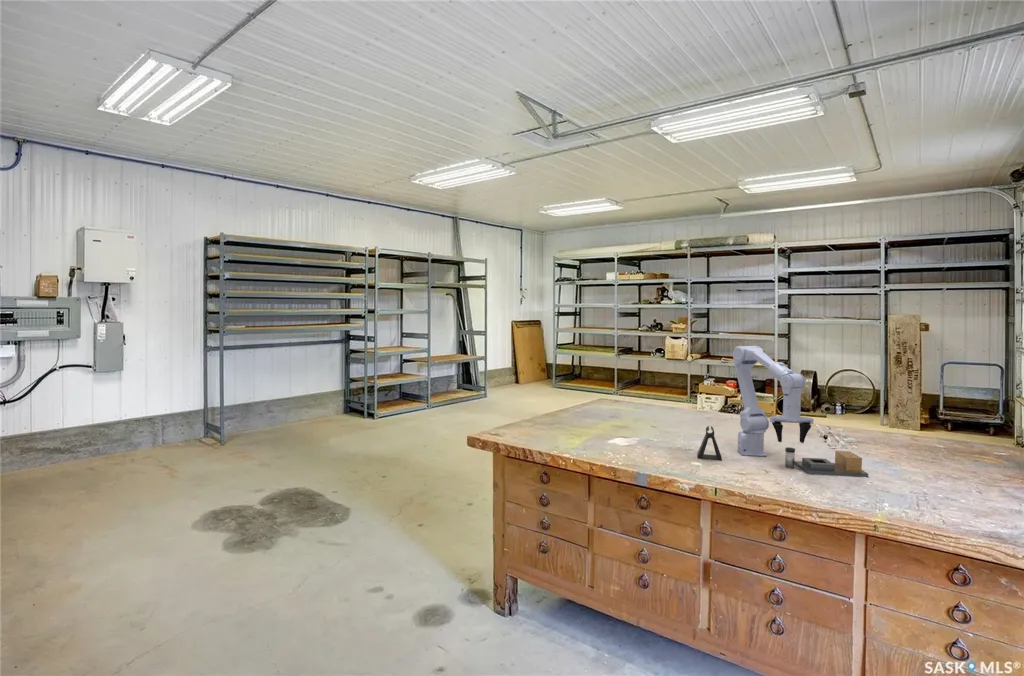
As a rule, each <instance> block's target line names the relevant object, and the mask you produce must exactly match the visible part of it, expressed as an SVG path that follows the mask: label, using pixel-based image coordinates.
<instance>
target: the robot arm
mask: <svg viewBox="0 0 1024 676" xmlns="http://www.w3.org/2000/svg"><path fill="white" fill-rule="evenodd" d="M732 358H733V363H734V367H735V373H736V378H737V381H738V387H739V391H740V396H741V399H742V403H743V404H742V405H743V410H742V411H741V413H740V414H739V416H740V417H739V418H740V419H739V420H740V421H739V422H740V423H739V424H740V428H741V429H742V431H738V434H737V450H736V451H738V453H739V454H740V455H741V456H751V457H752V456H754V457H755V456H756V457H757V456H758V457H767V456H768V454H766V453H765V452H764V449H765V447H764V445H765V443H764V442H765V433H766V431H767V430H768V428H769V427H770V423H772V427H773V429H774V430H775V434H776V438H777V442H778V443H782V441H783V428H784V425H783V424H782V423H787V424H789V423H790V424H793V423H794V424H798V425H799V442H800V443H801V444H804V443H805V439H806V436H807V435H808V433H809V431H810V430H811V429H812V425H813V424H814V418H813V417H806V416H801V409H802V408H801V407H802V406H801V403H802V401H801V399H802V389H803V388H804V387H805V385H806V379H805V377H804V375H803V374H802V373H801V372H794V370H792V369H789V368H788V367H787V366H786V365H785V363H784V362H782V361H778V362H777V361H774V360H773V359H772V358H771V357H770V356H769V355H768V354H767V353H765V352H764V349H763V348H761V347H760V346H759V345H737V346H736V347H735V348H734V350H733V352H732ZM757 363H759V364H760V365H762V366H763V367H764V368H766V369H768V372H769V374H770V375H771V376H772V377H774V378H775V379H776V380H777V381H778V382H779V383H780V387H781V390H782V391H781V392H782V394H783V395H782V396H783V397H782V399H783V401H782V402H783V403H782V415H777V416H776V415H775V416H769V419H768V416H767V415H766V412H765V410H763V409H762V408H761V407H759V402H758V399H757V398H758V397H757V395H756V394H757V393H756V389H755V386H754V382H753V381H754V380H753V377H752V373H751V369H752V368H753V367H754V366H755V365H757Z"/></svg>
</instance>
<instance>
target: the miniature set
mask: <svg viewBox="0 0 1024 676" xmlns="http://www.w3.org/2000/svg"><path fill="white" fill-rule="evenodd" d="M815 425H816V428H818V429H819V430H818V431H819V434H818V437H822V438H823V439H824V441H826V444H827V445H829V446H830V447H835V448H837V447H839V449H847V448H848V446H847V444H846V443H845V442H849V443H854V442H857V441H858V440H857V438H853V437H846V436H847V435H846V434H845V433H843V432H844V430H843V428H836V432H838V433H839V434H838V436H840V438H839V437H838V436H837V435H835V431H833V430H831V429H832V428H830V427H829V426H827V427H825V426H826V424H825V423H824V424H821V425H819V424H817V423H816V424H815ZM825 429H826V430H829V432H830V433H832V434H833V437H834V438H835V439H836V440H837V441H838V445H837V444H834V443H833V444H832V440H831V438H830V436H829V435H827V434H825ZM840 439H841V440H840ZM844 441H845V442H844ZM852 445H853V446H850V448H851V449H858V447H857V446H856V445H855V444H852Z"/></svg>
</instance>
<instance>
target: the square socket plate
mask: <svg viewBox="0 0 1024 676" xmlns="http://www.w3.org/2000/svg"><path fill="white" fill-rule="evenodd" d="M834 451H835V452H834V453H835V456H834V462H831V461H830V460H828V459H827V458H823V457H822V458H817V457H815V458H814V457H802V458H801V461H799V460H797V461H796V460H794V466H796V467H797V468H798V469H800V470H801V471H802V472H804V473H805V474H806V475H818V476H819V475H820V476H836V477H837V476H840V477H841V476H842V477H857V478H858V477H861V478H862V477H863V478H865V477H866V478H869V473H868V472H866V471H865V470H863V469H862V468H863V466H862V465H863V458H862V457H860V456H859V455H857V454H855V453H853V451H849V450H848V451H847V450H834Z"/></svg>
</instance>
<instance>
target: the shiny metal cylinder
mask: <svg viewBox="0 0 1024 676" xmlns="http://www.w3.org/2000/svg"><path fill="white" fill-rule="evenodd" d="M795 454H796V448H794V447H788V446H787V447H785V455H784V456H785V461H784V462H785V463H784V465H785V468H787V469H795V464H794V461H795V457H796V455H795Z"/></svg>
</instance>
